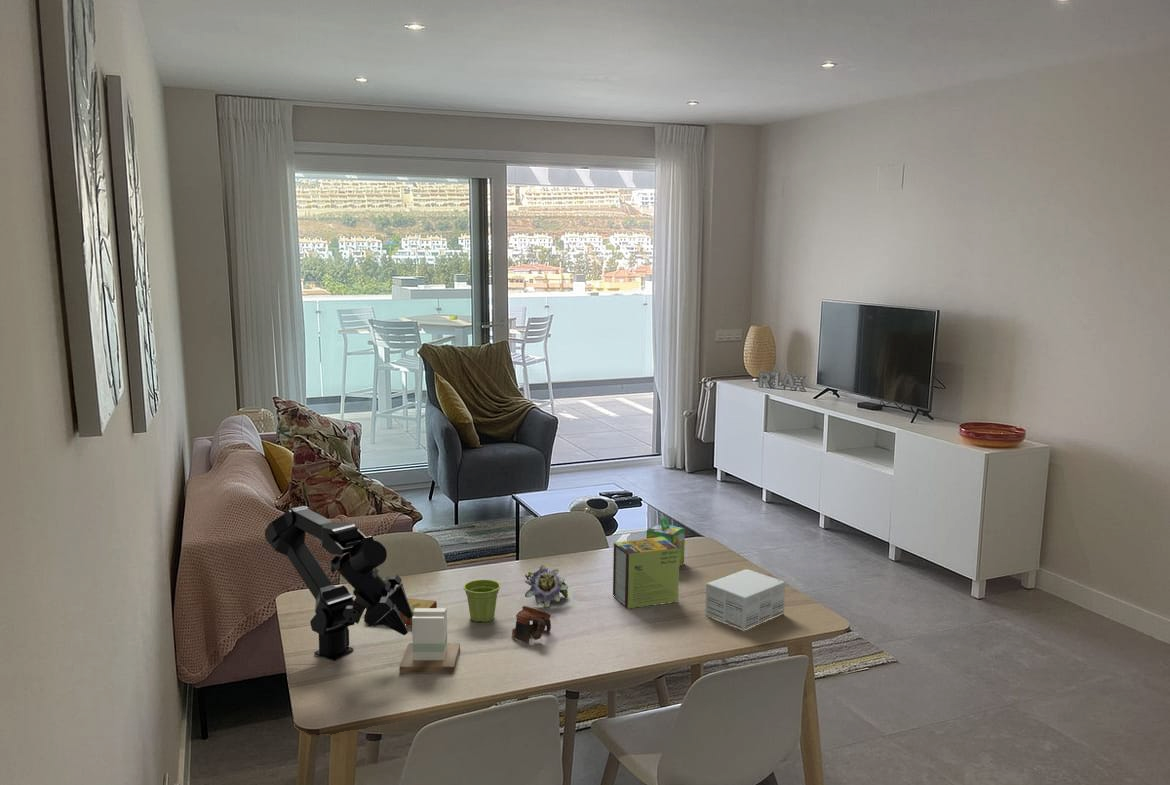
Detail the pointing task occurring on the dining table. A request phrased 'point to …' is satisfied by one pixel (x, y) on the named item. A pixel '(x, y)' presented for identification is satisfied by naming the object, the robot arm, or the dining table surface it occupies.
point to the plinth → (430, 661)
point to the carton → (417, 604)
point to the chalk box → (669, 535)
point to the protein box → (646, 572)
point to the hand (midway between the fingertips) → (408, 625)
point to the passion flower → (546, 586)
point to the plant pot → (482, 599)
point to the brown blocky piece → (535, 629)
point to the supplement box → (745, 598)
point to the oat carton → (429, 633)
